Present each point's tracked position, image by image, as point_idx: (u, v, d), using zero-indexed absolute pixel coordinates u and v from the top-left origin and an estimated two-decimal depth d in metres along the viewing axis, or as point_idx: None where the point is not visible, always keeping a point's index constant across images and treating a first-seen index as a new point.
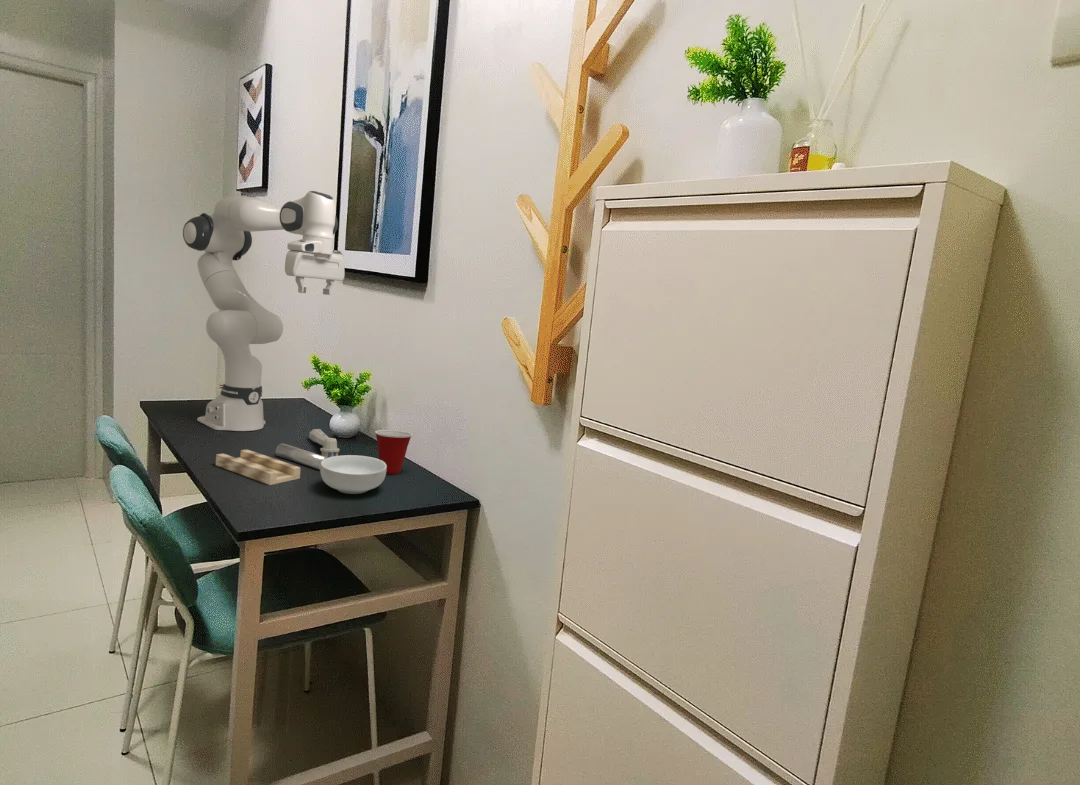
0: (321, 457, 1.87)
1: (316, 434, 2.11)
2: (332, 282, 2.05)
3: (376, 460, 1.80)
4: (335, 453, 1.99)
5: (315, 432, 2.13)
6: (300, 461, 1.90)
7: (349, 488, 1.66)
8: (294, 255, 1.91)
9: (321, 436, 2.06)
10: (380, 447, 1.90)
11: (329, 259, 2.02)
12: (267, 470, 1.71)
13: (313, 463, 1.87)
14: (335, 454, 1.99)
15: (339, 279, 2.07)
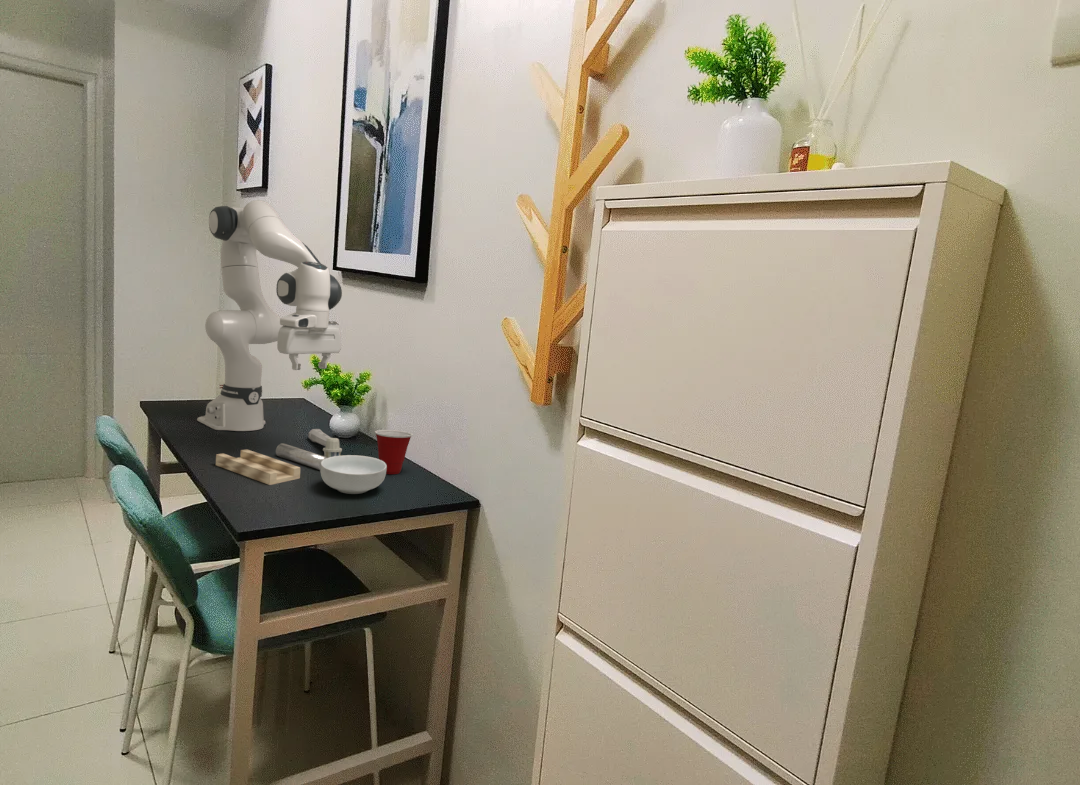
0: (321, 457, 1.87)
1: (316, 434, 2.11)
2: (328, 355, 1.93)
3: (376, 460, 1.80)
4: (338, 453, 1.99)
5: (315, 432, 2.13)
6: (300, 461, 1.90)
7: (349, 487, 1.66)
8: (287, 332, 1.79)
9: (322, 436, 2.07)
10: (380, 447, 1.90)
11: (324, 332, 1.90)
12: (267, 470, 1.71)
13: (313, 463, 1.87)
14: (338, 454, 1.99)
15: (335, 351, 1.94)
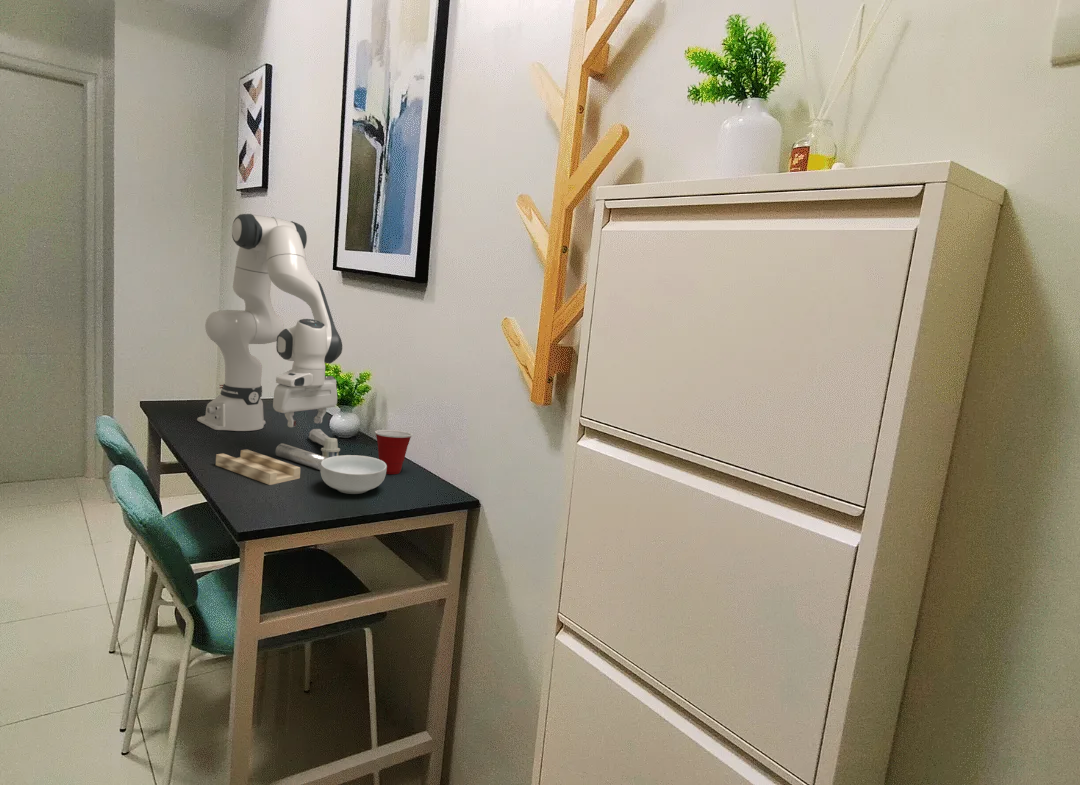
0: (320, 457, 1.87)
1: (316, 434, 2.11)
2: (324, 410, 1.94)
3: (376, 460, 1.80)
4: (336, 453, 1.99)
5: (315, 432, 2.13)
6: (300, 461, 1.90)
7: (349, 487, 1.66)
8: (283, 391, 1.80)
9: (321, 436, 2.07)
10: (380, 447, 1.90)
11: (320, 388, 1.91)
12: (267, 470, 1.71)
13: (313, 463, 1.87)
14: (336, 454, 1.99)
15: (331, 406, 1.95)
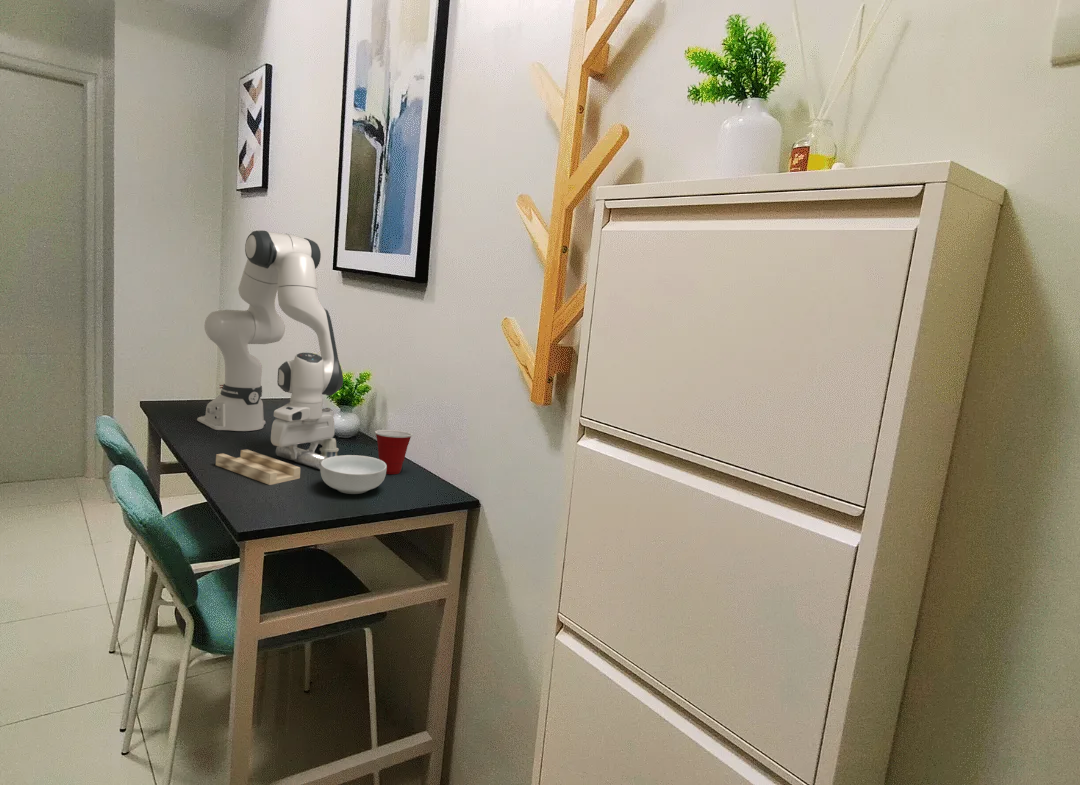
0: (321, 457, 1.87)
1: None
2: (316, 443, 1.94)
3: (376, 460, 1.80)
4: (334, 453, 1.99)
5: None
6: (300, 461, 1.90)
7: (349, 488, 1.66)
8: (280, 426, 1.81)
9: None
10: (380, 447, 1.90)
11: (318, 420, 1.92)
12: (267, 470, 1.71)
13: (313, 462, 1.87)
14: (334, 454, 1.99)
15: (329, 437, 1.97)
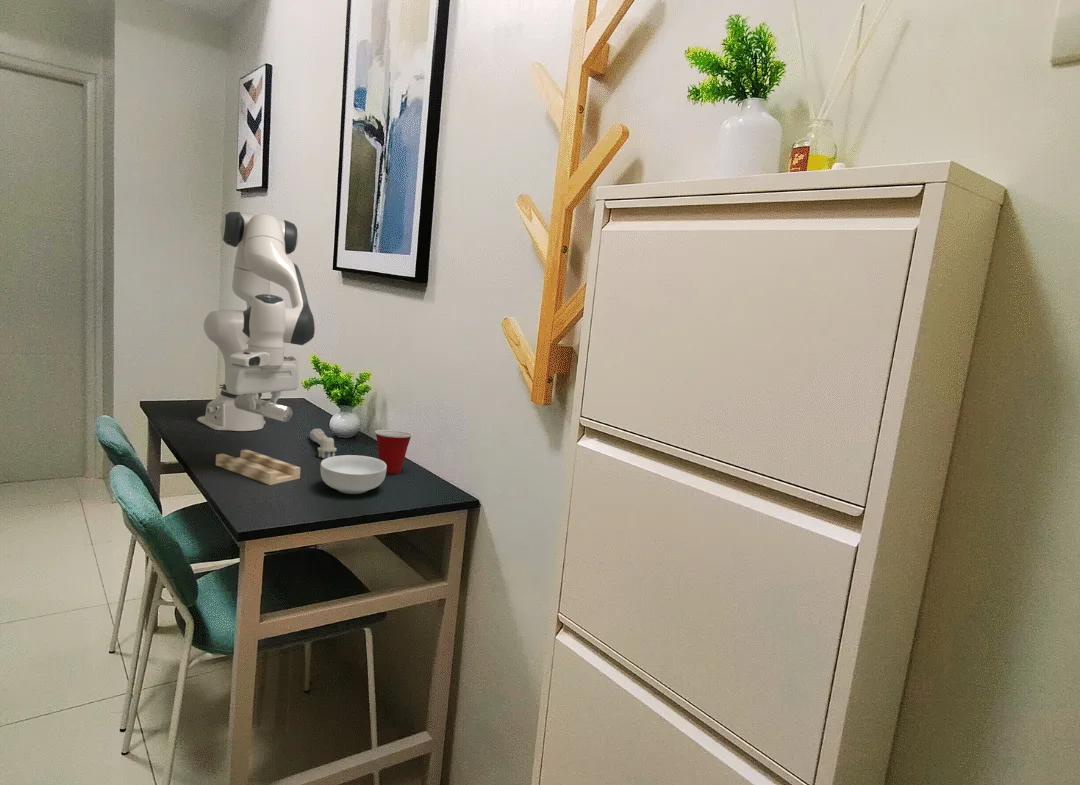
0: (282, 407, 1.72)
1: (315, 434, 2.11)
2: (278, 393, 1.79)
3: (376, 460, 1.80)
4: (332, 453, 1.99)
5: (315, 432, 2.14)
6: (260, 412, 1.74)
7: (349, 488, 1.66)
8: (236, 372, 1.66)
9: (319, 435, 2.07)
10: (380, 447, 1.90)
11: (279, 369, 1.77)
12: (267, 470, 1.71)
13: (274, 413, 1.72)
14: (332, 454, 1.99)
15: (292, 389, 1.82)
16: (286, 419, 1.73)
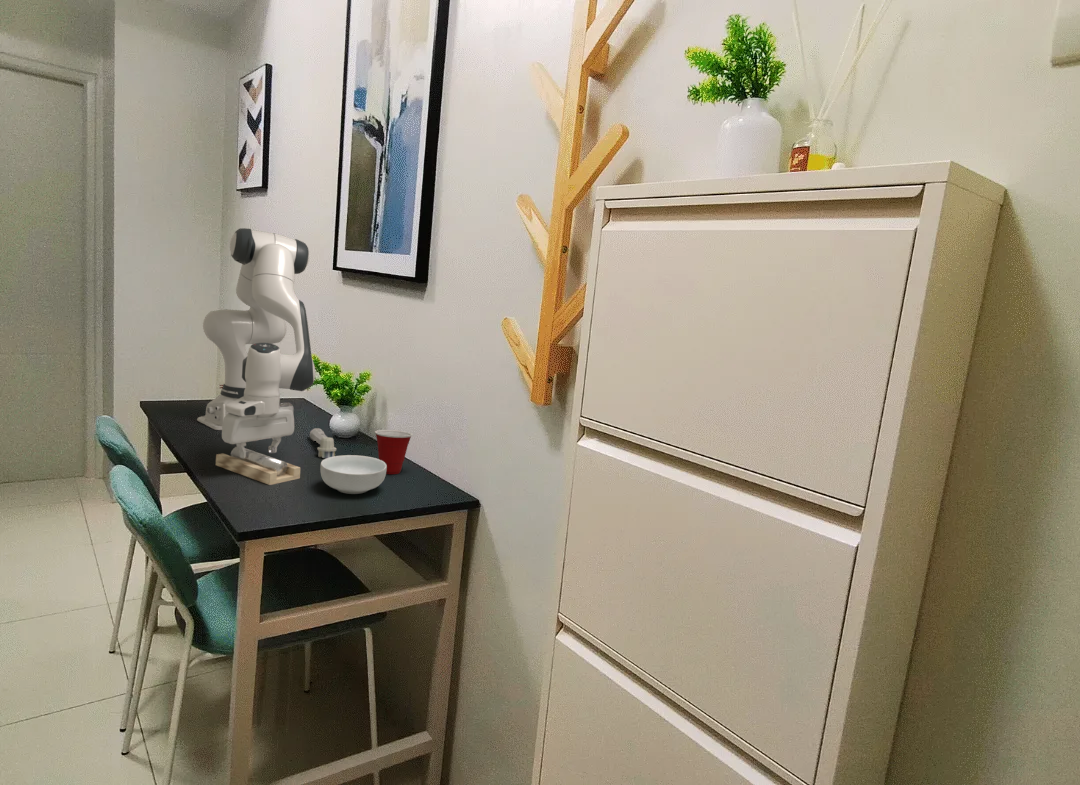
0: (278, 461, 1.74)
1: (315, 433, 2.12)
2: (278, 439, 1.82)
3: (376, 460, 1.80)
4: (332, 452, 1.99)
5: (315, 431, 2.14)
6: None
7: (349, 488, 1.66)
8: (232, 421, 1.68)
9: (319, 435, 2.07)
10: (380, 447, 1.90)
11: (275, 416, 1.79)
12: (267, 470, 1.71)
13: (269, 466, 1.74)
14: (332, 453, 1.99)
15: (288, 434, 1.83)
16: (280, 473, 1.75)
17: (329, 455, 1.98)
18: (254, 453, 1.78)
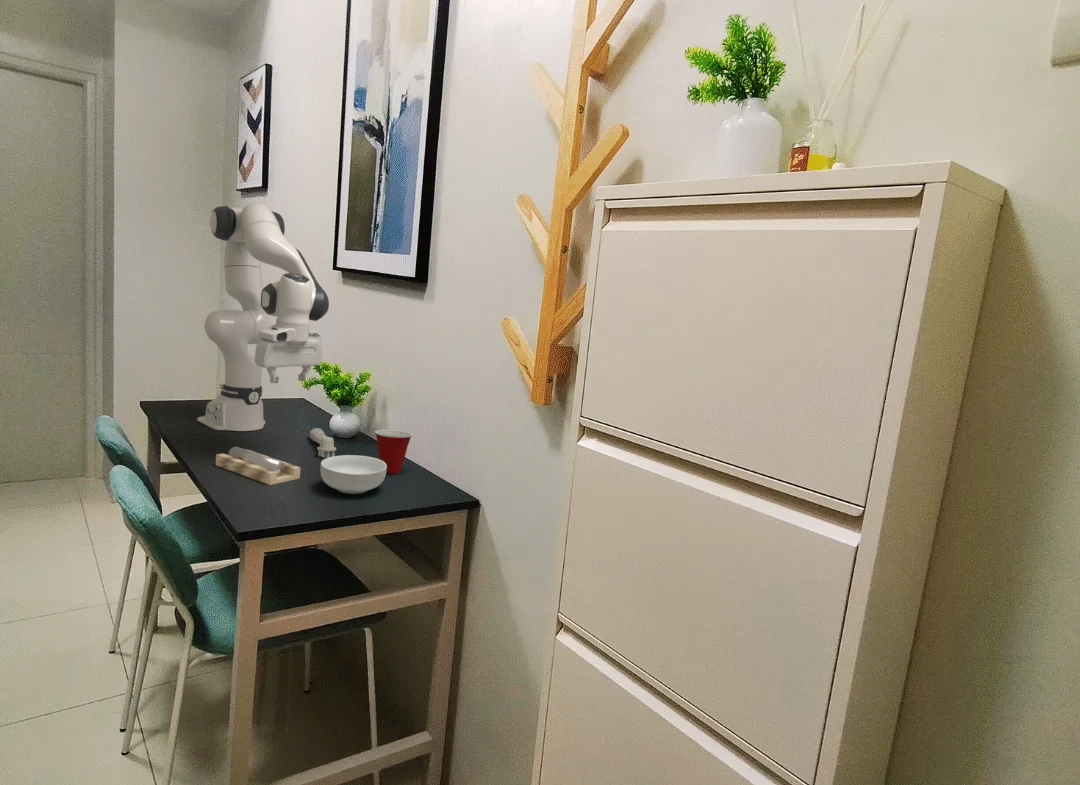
0: (273, 463, 1.73)
1: (315, 433, 2.12)
2: (308, 368, 1.91)
3: (376, 460, 1.80)
4: (331, 452, 1.99)
5: (315, 431, 2.14)
6: None
7: (349, 487, 1.66)
8: (264, 346, 1.76)
9: (319, 435, 2.07)
10: (380, 447, 1.90)
11: (305, 345, 1.87)
12: (267, 470, 1.71)
13: None
14: (331, 453, 1.99)
15: (316, 364, 1.92)
16: (280, 473, 1.74)
17: (329, 455, 1.99)
18: (249, 455, 1.77)
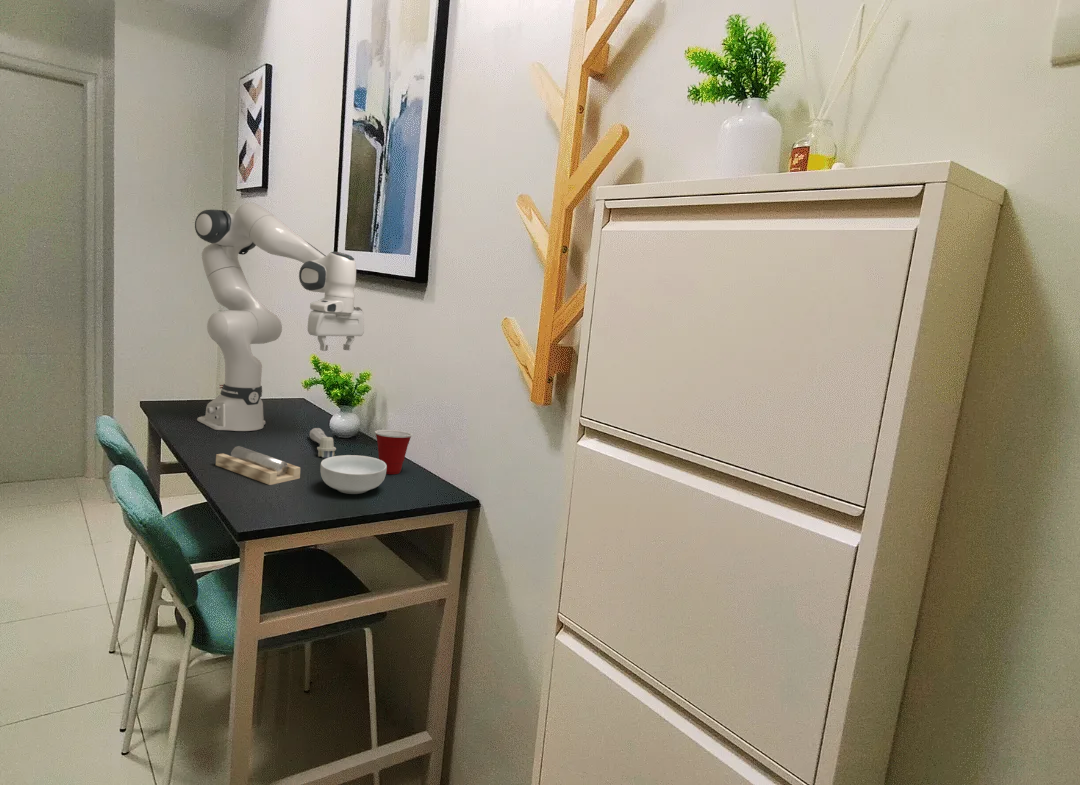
0: (278, 461, 1.74)
1: (315, 433, 2.12)
2: (352, 338, 2.11)
3: (376, 460, 1.80)
4: (331, 452, 1.99)
5: (314, 431, 2.14)
6: None
7: (349, 488, 1.66)
8: (316, 316, 1.97)
9: (319, 435, 2.07)
10: (380, 447, 1.90)
11: (350, 316, 2.07)
12: (267, 470, 1.71)
13: (269, 466, 1.74)
14: (331, 453, 1.99)
15: (359, 335, 2.12)
16: (281, 473, 1.75)
17: (329, 455, 1.99)
18: (254, 453, 1.78)
